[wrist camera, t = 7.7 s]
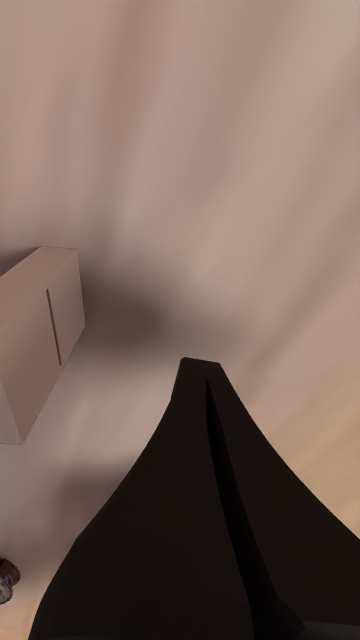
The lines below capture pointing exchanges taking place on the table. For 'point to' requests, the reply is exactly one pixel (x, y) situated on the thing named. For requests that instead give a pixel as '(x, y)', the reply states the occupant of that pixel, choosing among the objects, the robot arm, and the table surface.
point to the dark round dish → (7, 580)
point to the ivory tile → (36, 334)
